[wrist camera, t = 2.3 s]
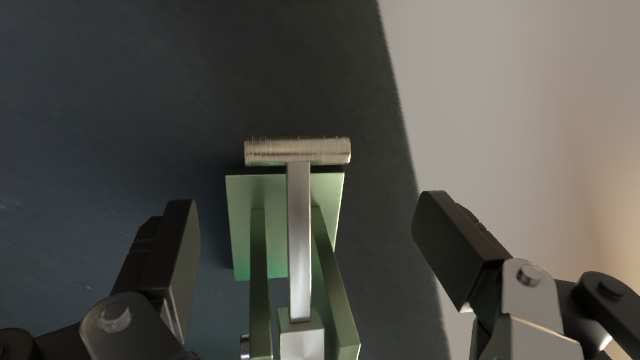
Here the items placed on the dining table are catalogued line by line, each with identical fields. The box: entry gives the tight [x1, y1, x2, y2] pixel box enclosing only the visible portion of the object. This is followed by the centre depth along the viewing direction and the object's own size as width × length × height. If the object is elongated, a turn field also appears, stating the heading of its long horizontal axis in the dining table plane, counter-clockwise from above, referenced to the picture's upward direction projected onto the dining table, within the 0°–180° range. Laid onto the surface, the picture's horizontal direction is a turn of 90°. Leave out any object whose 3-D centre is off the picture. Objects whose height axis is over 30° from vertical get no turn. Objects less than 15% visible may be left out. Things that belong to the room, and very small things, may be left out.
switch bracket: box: [225, 165, 361, 360], centre depth 20 cm, size 10×8×12 cm
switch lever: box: [244, 136, 351, 360], centre depth 16 cm, size 12×5×2 cm, turn 176°
